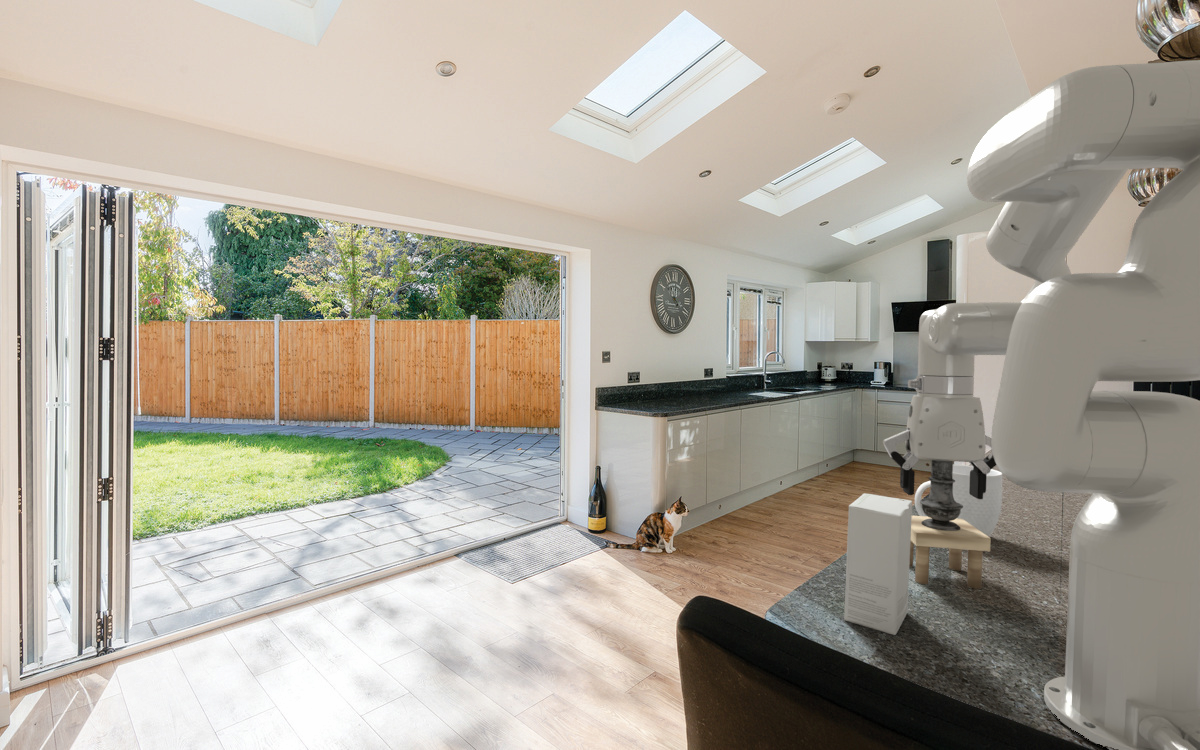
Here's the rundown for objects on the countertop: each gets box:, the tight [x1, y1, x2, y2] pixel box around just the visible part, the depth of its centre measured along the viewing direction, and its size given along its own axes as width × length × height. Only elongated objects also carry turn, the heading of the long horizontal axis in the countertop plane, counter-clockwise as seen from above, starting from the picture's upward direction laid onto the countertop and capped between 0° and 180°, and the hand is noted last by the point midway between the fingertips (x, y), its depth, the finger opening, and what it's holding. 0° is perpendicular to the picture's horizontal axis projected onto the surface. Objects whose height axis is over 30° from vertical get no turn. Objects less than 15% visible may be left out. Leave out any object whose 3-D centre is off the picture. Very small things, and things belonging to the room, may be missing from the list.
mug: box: [914, 463, 1004, 537], centre depth 108 cm, size 15×11×13 cm
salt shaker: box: [920, 460, 963, 531], centre depth 87 cm, size 6×6×12 cm
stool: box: [909, 515, 992, 590], centre depth 88 cm, size 10×10×8 cm
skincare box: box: [843, 493, 913, 636], centre depth 73 cm, size 8×7×16 cm
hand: (941, 495), depth 87 cm, fingers open, 9 cm apart
